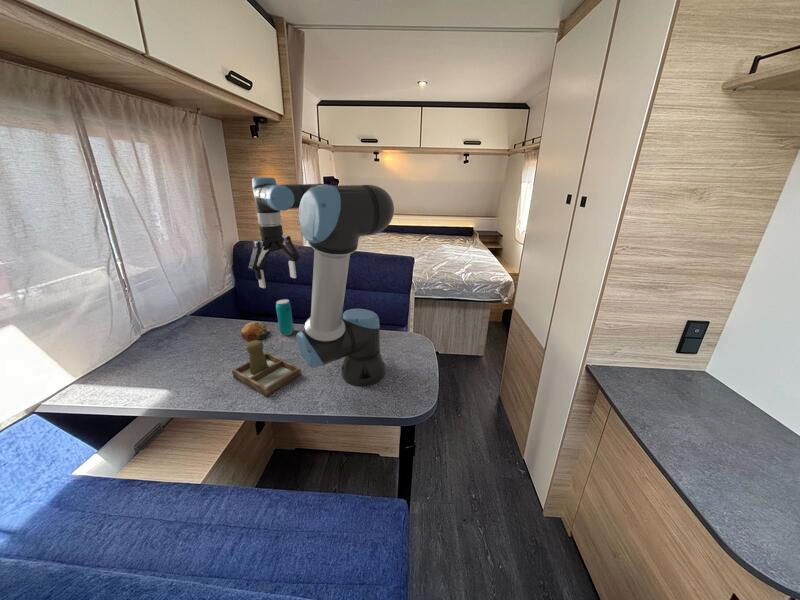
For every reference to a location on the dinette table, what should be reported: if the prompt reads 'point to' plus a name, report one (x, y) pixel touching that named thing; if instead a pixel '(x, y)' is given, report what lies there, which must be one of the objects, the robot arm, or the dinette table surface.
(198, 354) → the dinette table surface
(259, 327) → the bread roll
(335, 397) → the dinette table surface
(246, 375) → the tray
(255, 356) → the olive rounded lobed piece
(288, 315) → the beverage can
